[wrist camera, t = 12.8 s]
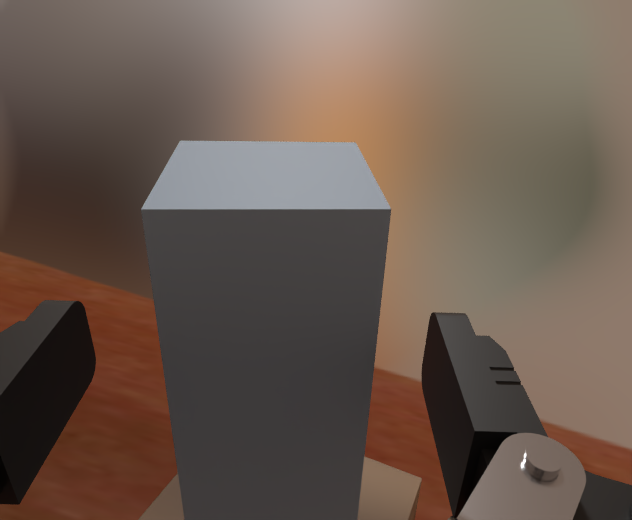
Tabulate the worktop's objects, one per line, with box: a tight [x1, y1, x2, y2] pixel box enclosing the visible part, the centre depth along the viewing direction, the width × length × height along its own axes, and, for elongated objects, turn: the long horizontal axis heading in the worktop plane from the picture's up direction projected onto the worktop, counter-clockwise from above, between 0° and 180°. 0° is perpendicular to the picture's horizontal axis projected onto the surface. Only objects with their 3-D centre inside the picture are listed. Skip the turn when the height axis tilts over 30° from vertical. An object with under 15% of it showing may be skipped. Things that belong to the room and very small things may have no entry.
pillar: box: [141, 141, 391, 520], centre depth 14 cm, size 4×4×12 cm
